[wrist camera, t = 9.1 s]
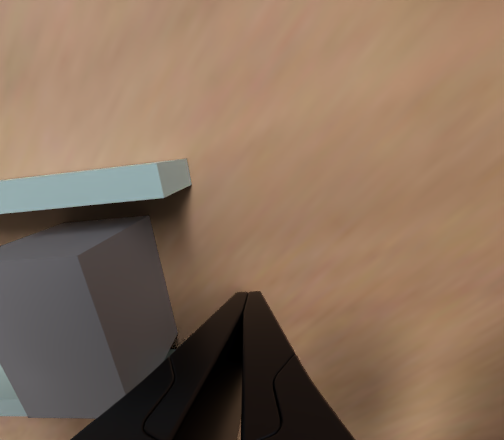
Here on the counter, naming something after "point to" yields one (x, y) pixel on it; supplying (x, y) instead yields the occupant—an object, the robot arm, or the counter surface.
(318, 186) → the counter surface
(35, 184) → the u-shaped coat rack
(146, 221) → the plug block
